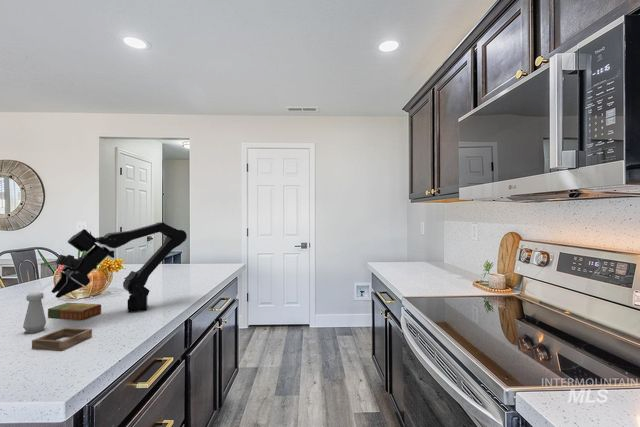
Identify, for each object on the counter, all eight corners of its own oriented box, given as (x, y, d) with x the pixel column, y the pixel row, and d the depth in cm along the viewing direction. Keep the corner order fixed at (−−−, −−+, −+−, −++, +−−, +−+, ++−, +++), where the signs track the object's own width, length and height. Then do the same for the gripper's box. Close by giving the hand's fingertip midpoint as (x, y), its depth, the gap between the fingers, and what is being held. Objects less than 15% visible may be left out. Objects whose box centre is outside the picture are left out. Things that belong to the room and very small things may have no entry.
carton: (82, 321, 117) (82, 310, 117) (47, 319, 120) (46, 308, 120) (101, 314, 125) (101, 303, 125) (68, 312, 128) (67, 301, 128)
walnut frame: (64, 335, 103) (64, 327, 103) (91, 337, 102) (91, 329, 102) (31, 348, 93) (31, 340, 93) (62, 350, 92) (62, 342, 92)
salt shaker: (18, 333, 104) (18, 294, 104) (35, 327, 110) (35, 290, 110) (34, 334, 104) (34, 295, 104) (50, 328, 109) (50, 291, 109)
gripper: (67, 244, 121) (29, 277, 113) (77, 248, 108) (35, 286, 100) (92, 262, 126) (58, 294, 119) (105, 267, 114) (67, 304, 106)
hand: (54, 294), depth 111 cm, fingers open, 9 cm apart
